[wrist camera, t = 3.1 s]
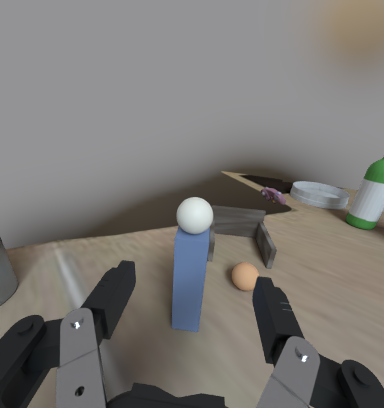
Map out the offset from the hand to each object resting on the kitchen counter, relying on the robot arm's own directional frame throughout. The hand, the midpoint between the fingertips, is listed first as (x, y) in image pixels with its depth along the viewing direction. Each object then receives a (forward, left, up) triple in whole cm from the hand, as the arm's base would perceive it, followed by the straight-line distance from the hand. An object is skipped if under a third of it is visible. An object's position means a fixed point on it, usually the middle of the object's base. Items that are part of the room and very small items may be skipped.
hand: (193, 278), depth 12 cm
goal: (-8, +31, -19) cm, 38 cm away
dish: (+5, +91, -20) cm, 93 cm away
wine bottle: (+19, +72, -19) cm, 77 cm away
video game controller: (-9, +72, -20) cm, 75 cm away
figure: (-6, +9, -19) cm, 22 cm away
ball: (-2, +21, -19) cm, 29 cm away
